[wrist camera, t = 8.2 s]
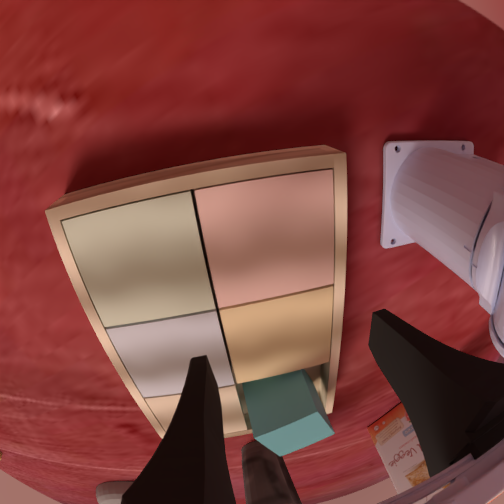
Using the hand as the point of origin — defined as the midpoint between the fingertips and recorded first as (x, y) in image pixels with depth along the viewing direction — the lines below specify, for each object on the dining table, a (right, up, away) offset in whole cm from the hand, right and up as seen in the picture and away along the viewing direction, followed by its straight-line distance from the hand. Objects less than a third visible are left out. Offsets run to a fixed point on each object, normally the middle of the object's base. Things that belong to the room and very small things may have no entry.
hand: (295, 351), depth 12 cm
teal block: (+1, -7, +13) cm, 15 cm away
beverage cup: (-1, -20, +21) cm, 29 cm away
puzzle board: (-4, -1, +10) cm, 11 cm away
